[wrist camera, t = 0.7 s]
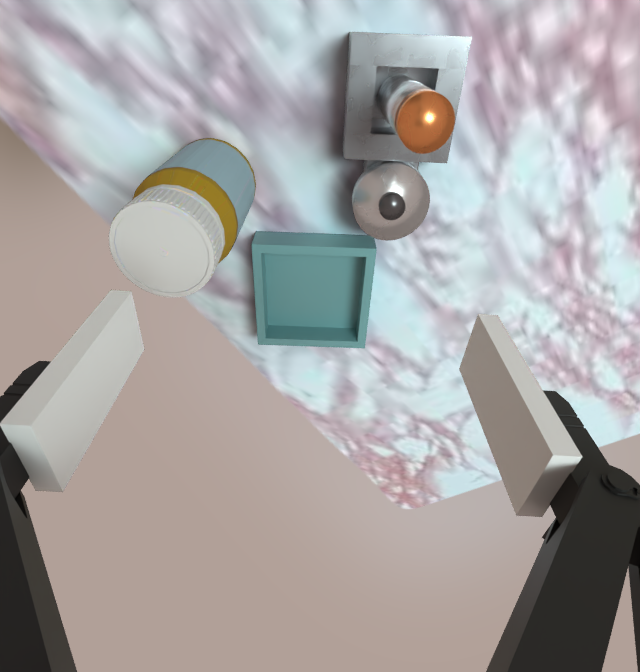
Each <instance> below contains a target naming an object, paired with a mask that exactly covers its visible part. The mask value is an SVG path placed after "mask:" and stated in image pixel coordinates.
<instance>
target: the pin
mask: <svg viewBox="0 0 640 672" xmlns="http://www.w3.org/2000/svg"><path fill="white" fill-rule="evenodd" d="M378 105H379V108H380V110H381V112H382V113H383V115H384V116H385V118H386V119H387V121H388V122H389V124H390V125H391V126H392V128H393V129H394V131H395V132H396V134H397V135H398V137H399V138H400V140H401V141H402V143H403V144H404V145H405V146H406V147H407V148H408V149H409V150H411V151H412V152H415V153H419V154H426V153H431V152H433V151H436V150H437V149H439V148H440V147H442V146H443V145H444V144H445V143H446V142H447V140H448V139H449V137H450V136H451V134H452V131H453V128H454V124H455V113H454V109H453V106H452V104H451V103H450V101H449V100H448V99H447V98H446V97H445V96H443V95H441V94H440V93H438V92H436V91H434V90H432V89H430V88H429V87H427V86H425V85H423V84H421V83H419V82H418V81H416V80H414V79H412V78H410V77H408V76H406V75H403V74H396V75H393V76H391V77H389V78H387V79H386V80H385V81H384V82H383V84H382V85H381V87H380V89H379V92H378Z"/></svg>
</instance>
